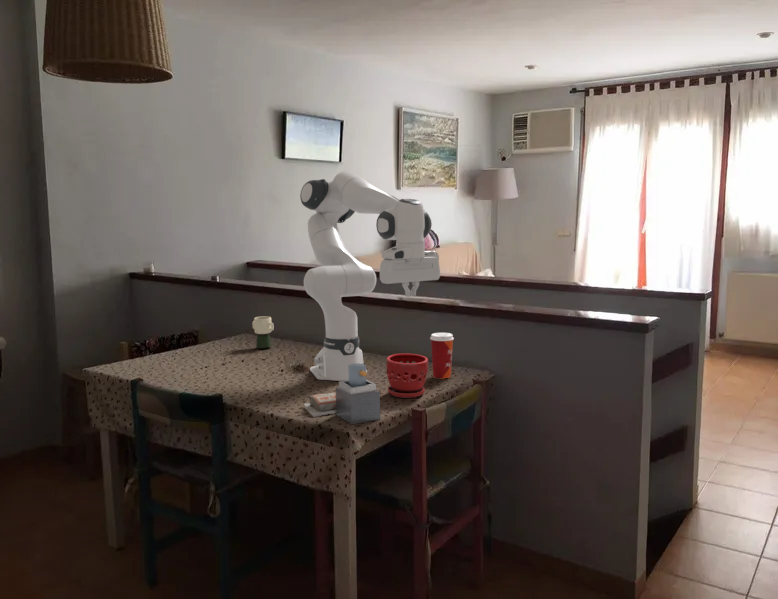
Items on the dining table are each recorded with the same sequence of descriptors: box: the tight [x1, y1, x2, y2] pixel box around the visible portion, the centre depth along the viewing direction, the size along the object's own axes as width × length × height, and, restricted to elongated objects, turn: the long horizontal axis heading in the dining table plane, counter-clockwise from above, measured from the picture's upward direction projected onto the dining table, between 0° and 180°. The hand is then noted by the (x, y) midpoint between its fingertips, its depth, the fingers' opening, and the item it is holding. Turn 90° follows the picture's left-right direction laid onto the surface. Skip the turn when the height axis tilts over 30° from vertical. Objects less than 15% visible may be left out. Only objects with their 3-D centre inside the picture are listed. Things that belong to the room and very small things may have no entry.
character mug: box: [251, 315, 275, 349], centre depth 281 cm, size 11×7×13 cm, turn 62°
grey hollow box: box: [335, 378, 381, 425], centre depth 191 cm, size 10×9×10 cm
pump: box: [348, 363, 368, 387], centre depth 189 cm, size 7×5×7 cm
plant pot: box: [386, 353, 429, 399], centre depth 212 cm, size 13×13×12 cm
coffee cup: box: [429, 332, 455, 380], centre depth 232 cm, size 8×8×15 cm
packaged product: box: [303, 391, 336, 418], centre depth 200 cm, size 18×5×10 cm
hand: (410, 296), depth 210 cm, fingers closed
